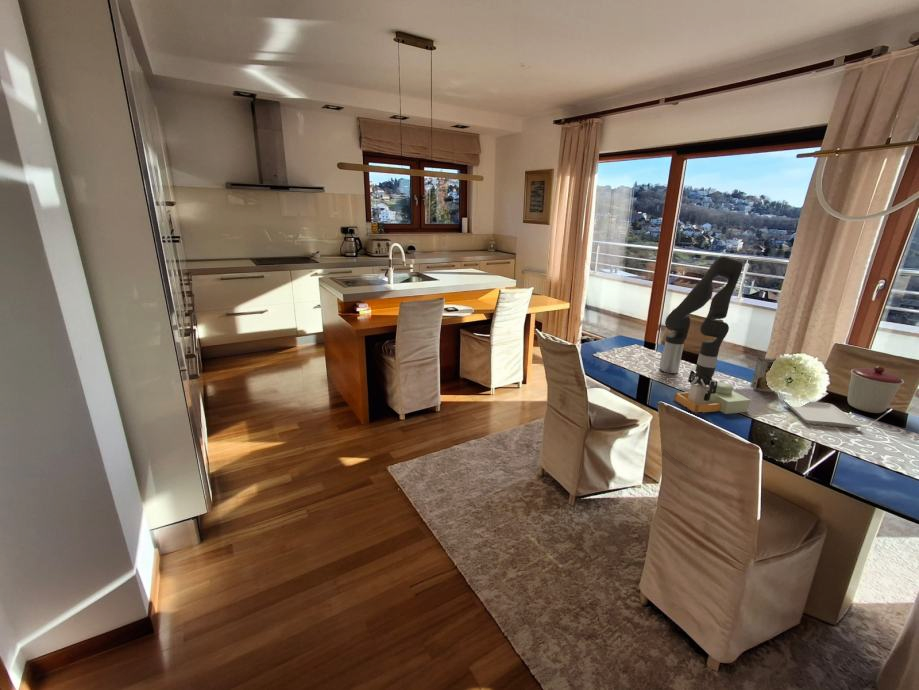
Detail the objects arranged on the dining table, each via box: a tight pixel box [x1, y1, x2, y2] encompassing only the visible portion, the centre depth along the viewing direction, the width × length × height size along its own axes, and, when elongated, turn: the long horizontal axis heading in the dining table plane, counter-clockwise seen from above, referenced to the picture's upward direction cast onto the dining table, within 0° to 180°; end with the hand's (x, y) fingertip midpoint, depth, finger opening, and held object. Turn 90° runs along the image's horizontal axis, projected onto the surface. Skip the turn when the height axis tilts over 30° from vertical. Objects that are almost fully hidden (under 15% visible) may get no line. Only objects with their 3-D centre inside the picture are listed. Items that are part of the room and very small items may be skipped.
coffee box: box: [750, 356, 777, 393], centre depth 217 cm, size 9×6×16 cm
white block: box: [688, 383, 709, 405], centre depth 198 cm, size 4×8×10 cm, turn 103°
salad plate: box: [781, 398, 862, 429], centre depth 191 cm, size 21×21×3 cm
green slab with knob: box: [673, 381, 751, 415], centre depth 199 cm, size 20×25×9 cm
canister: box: [847, 365, 905, 414], centre depth 198 cm, size 18×18×21 cm
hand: (699, 396), depth 198 cm, fingers open, 8 cm apart
